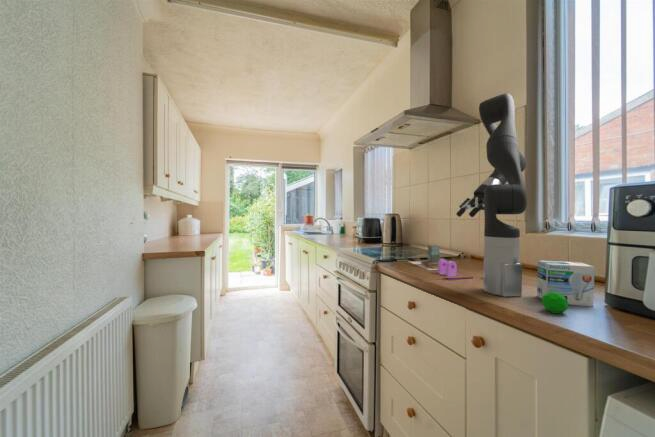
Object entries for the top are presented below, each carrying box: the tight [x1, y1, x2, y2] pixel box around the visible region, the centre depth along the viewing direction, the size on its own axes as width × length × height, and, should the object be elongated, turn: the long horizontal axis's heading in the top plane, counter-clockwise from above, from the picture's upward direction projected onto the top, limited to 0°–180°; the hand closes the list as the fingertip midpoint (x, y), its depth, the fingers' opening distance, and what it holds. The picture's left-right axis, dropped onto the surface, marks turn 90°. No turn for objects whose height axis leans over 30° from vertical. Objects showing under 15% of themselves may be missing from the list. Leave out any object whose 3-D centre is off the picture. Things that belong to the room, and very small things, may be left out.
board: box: [407, 260, 438, 271], centre depth 121 cm, size 20×11×2 cm, turn 9°
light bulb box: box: [536, 259, 596, 307], centre depth 76 cm, size 11×7×11 cm, turn 73°
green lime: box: [541, 292, 569, 314], centre depth 67 cm, size 5×5×5 cm
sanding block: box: [420, 244, 441, 269], centre depth 117 cm, size 10×6×9 cm, turn 9°
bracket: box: [437, 258, 474, 281], centre depth 103 cm, size 13×6×7 cm, turn 108°
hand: (464, 215), depth 119 cm, fingers open, 8 cm apart
